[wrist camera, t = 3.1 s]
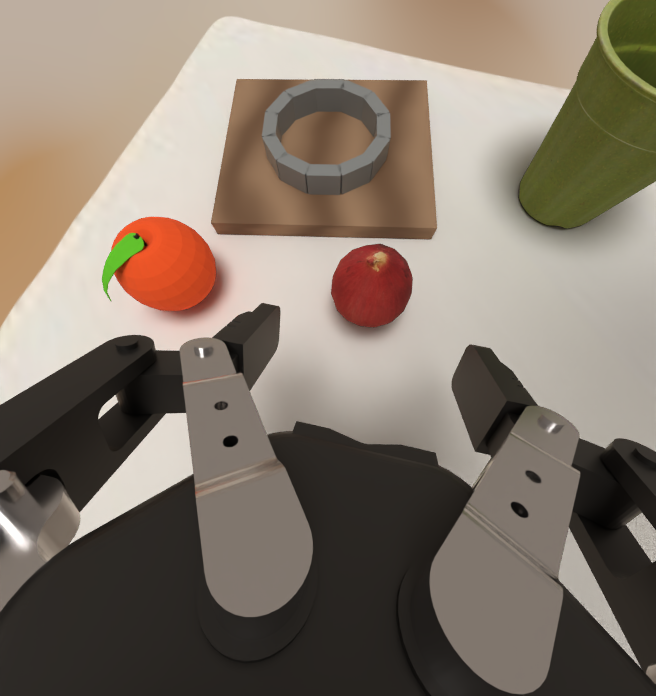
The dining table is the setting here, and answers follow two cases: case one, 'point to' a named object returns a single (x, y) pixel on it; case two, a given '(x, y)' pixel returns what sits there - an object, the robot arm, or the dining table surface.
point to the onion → (372, 285)
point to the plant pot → (601, 125)
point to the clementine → (161, 264)
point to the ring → (326, 99)
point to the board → (329, 148)
